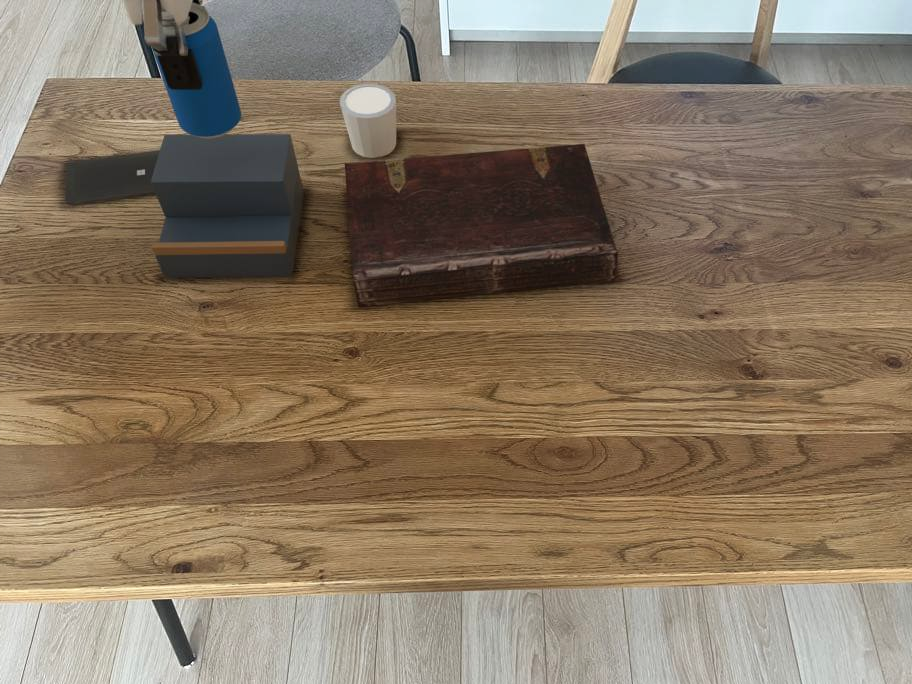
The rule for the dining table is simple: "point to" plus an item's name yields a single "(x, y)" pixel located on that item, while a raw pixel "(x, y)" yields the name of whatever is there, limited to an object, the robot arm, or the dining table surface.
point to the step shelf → (228, 205)
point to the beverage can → (204, 81)
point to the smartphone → (110, 178)
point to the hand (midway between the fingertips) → (192, 64)
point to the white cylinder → (370, 119)
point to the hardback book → (476, 224)
